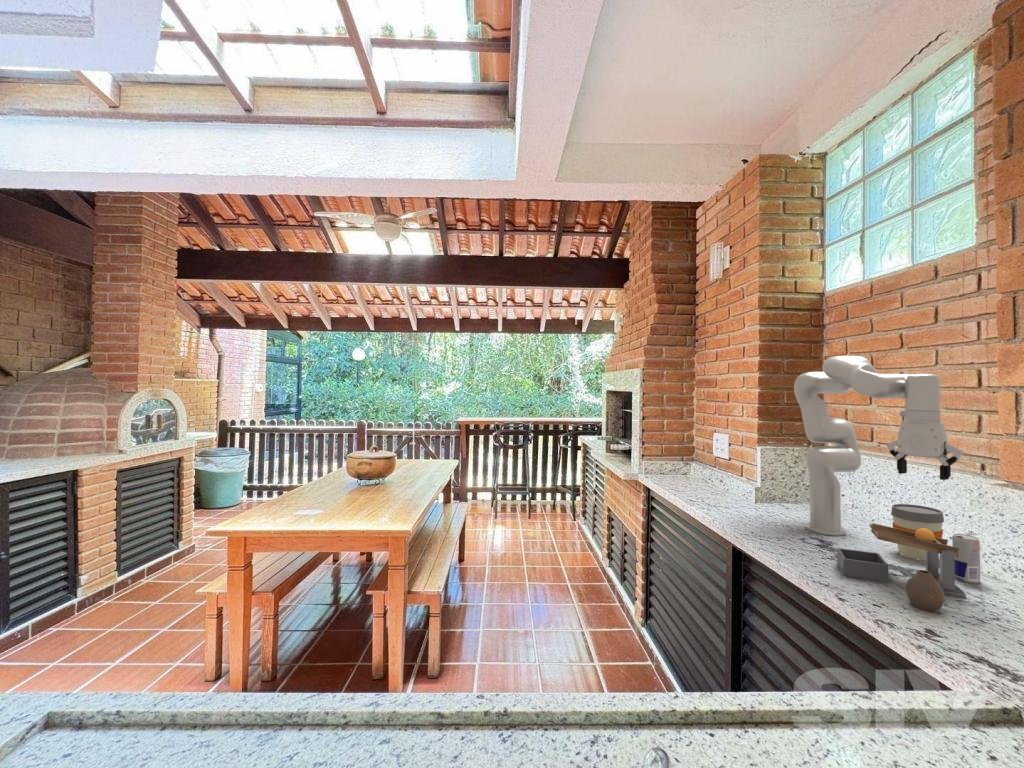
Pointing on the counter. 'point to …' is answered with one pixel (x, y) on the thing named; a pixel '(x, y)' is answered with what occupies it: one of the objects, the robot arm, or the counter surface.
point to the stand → (943, 571)
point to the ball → (924, 534)
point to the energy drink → (967, 558)
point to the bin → (862, 565)
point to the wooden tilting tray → (910, 539)
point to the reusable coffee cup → (916, 524)
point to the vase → (925, 591)
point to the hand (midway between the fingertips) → (922, 476)
